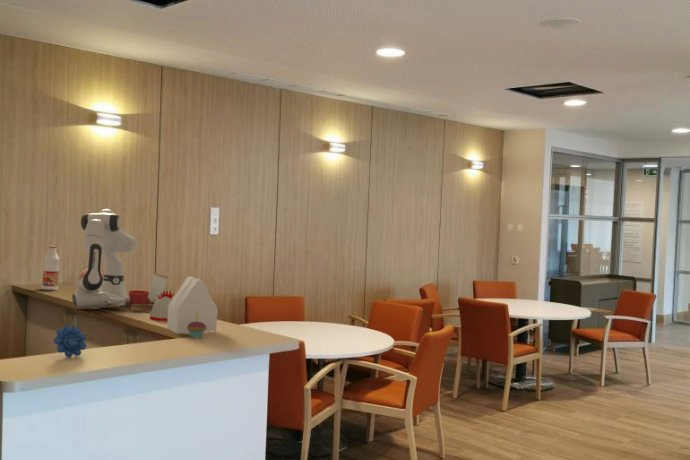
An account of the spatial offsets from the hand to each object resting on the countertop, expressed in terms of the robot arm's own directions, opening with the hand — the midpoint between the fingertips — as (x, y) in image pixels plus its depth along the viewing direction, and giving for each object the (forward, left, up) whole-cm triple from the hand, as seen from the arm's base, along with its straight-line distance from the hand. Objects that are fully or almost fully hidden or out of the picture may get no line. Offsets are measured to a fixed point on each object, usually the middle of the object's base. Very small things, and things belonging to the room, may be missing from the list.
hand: (129, 299), depth 379 cm
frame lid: (+1, +15, +7) cm, 16 cm away
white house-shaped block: (+71, +10, -5) cm, 72 cm away
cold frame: (+1, +6, -5) cm, 8 cm away
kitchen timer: (+37, +8, -5) cm, 38 cm away
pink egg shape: (-81, 0, -5) cm, 81 cm away
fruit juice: (-89, -26, -5) cm, 93 cm away
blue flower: (+119, -54, -5) cm, 131 cm away
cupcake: (+89, +6, -5) cm, 89 cm away
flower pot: (0, +5, -5) cm, 7 cm away
